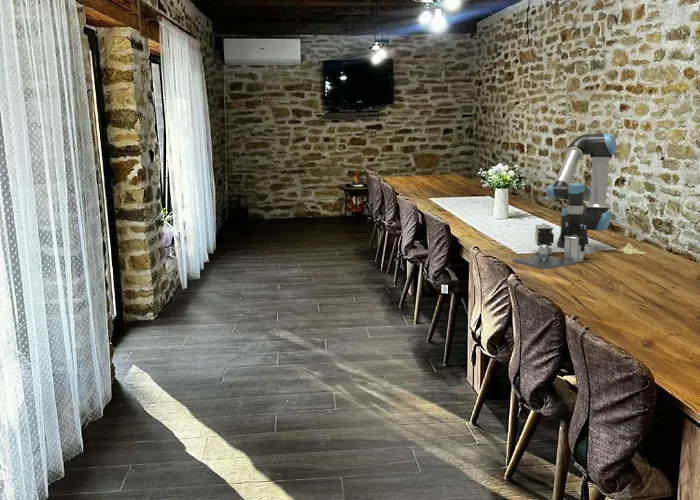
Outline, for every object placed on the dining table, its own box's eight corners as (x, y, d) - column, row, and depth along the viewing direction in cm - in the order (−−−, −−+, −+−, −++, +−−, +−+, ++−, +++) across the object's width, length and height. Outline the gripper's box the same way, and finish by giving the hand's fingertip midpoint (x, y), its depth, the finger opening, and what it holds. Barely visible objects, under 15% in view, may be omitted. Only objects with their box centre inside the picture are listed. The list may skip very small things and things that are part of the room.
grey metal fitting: (573, 263, 313) (574, 238, 311) (559, 260, 322) (560, 235, 319) (597, 259, 320) (598, 235, 318) (582, 256, 329) (583, 232, 327)
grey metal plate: (544, 257, 330) (544, 239, 328) (575, 264, 311) (576, 245, 309) (512, 261, 321) (512, 244, 319) (542, 269, 301) (543, 250, 299)
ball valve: (554, 258, 325) (555, 225, 322) (537, 258, 327) (538, 225, 324) (550, 252, 343) (551, 221, 339) (534, 252, 344) (535, 221, 341)
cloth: (603, 251, 355) (603, 240, 354) (634, 250, 356) (634, 239, 354) (621, 258, 333) (622, 247, 332) (654, 257, 334) (655, 246, 333)
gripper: (554, 211, 323) (552, 253, 327) (586, 216, 304) (584, 260, 308) (564, 210, 326) (563, 251, 330) (597, 214, 307) (595, 258, 311)
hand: (573, 255), depth 319 cm, fingers closed on grey metal fitting, 9 cm apart
